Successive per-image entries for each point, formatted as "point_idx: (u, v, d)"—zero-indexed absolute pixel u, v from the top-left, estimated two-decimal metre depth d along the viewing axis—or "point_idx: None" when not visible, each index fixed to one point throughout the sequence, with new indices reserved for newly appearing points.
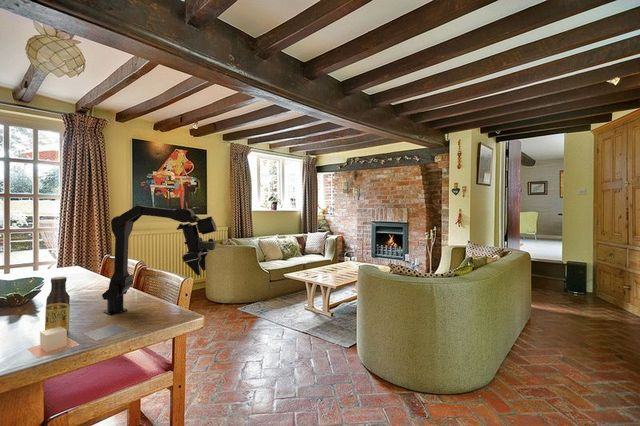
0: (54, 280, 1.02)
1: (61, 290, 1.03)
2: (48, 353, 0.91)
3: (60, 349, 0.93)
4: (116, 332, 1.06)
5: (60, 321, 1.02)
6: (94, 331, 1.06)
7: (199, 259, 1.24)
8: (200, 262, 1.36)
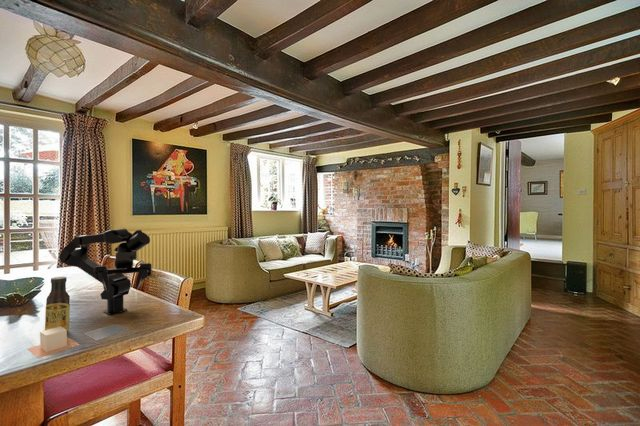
0: (54, 280, 1.02)
1: (61, 290, 1.03)
2: (48, 353, 0.91)
3: (60, 349, 0.93)
4: (116, 332, 1.06)
5: (60, 321, 1.02)
6: (94, 331, 1.06)
7: (98, 273, 1.13)
8: None
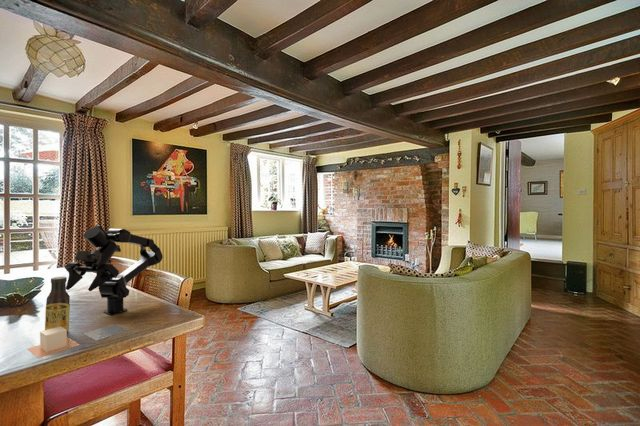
0: (54, 280, 1.02)
1: (61, 290, 1.03)
2: (48, 353, 0.91)
3: (60, 349, 0.93)
4: (116, 332, 1.06)
5: (60, 321, 1.02)
6: (94, 331, 1.06)
7: (66, 269, 1.14)
8: None
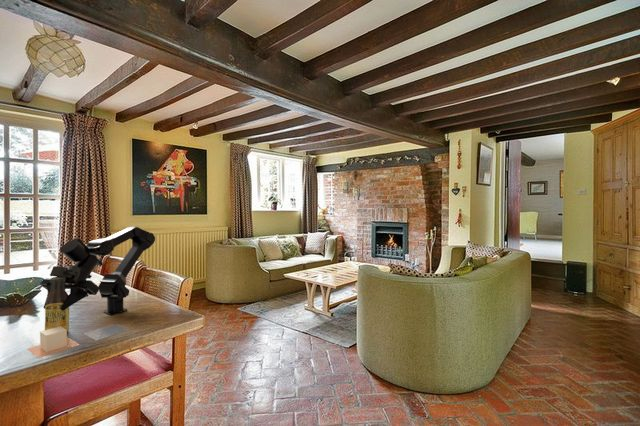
0: (53, 280, 1.02)
1: (60, 289, 1.03)
2: (48, 353, 0.91)
3: (60, 349, 0.93)
4: (116, 332, 1.06)
5: (60, 321, 1.02)
6: (94, 331, 1.06)
7: (45, 286, 1.06)
8: None
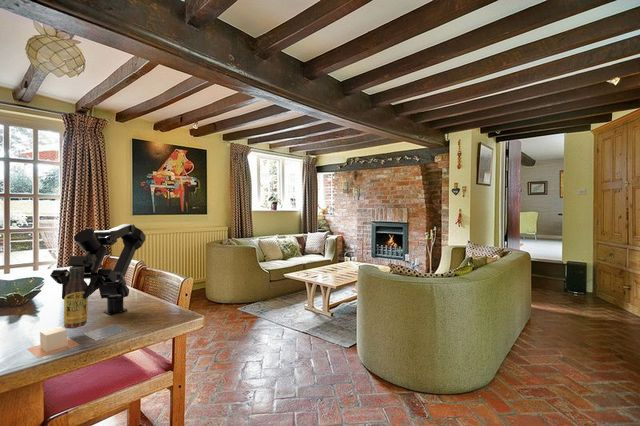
0: (75, 269, 1.02)
1: (81, 279, 1.03)
2: (48, 353, 0.91)
3: (60, 349, 0.93)
4: (116, 332, 1.06)
5: (82, 309, 1.03)
6: (94, 331, 1.06)
7: (58, 277, 1.04)
8: None
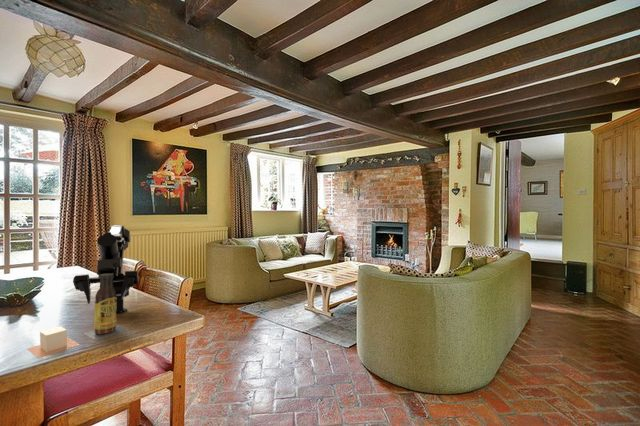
0: (107, 276, 1.05)
1: (112, 285, 1.07)
2: (48, 353, 0.91)
3: (60, 349, 0.93)
4: (116, 332, 1.06)
5: (114, 314, 1.06)
6: (94, 331, 1.06)
7: (78, 282, 1.03)
8: None
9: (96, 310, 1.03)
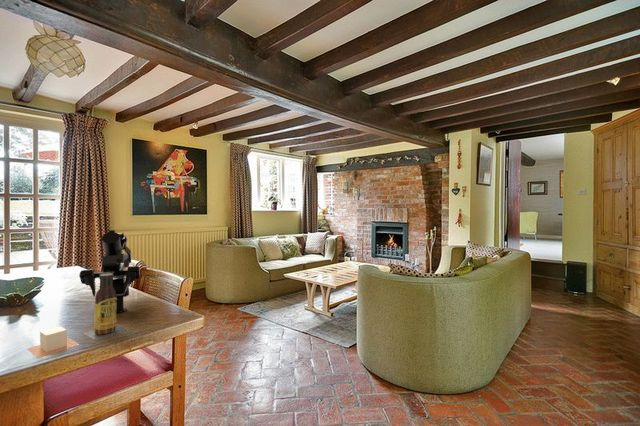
0: (107, 276, 1.05)
1: (112, 285, 1.07)
2: (48, 353, 0.91)
3: (60, 349, 0.93)
4: (116, 332, 1.06)
5: (114, 315, 1.06)
6: None
7: (84, 276, 1.11)
8: None
9: (96, 310, 1.03)
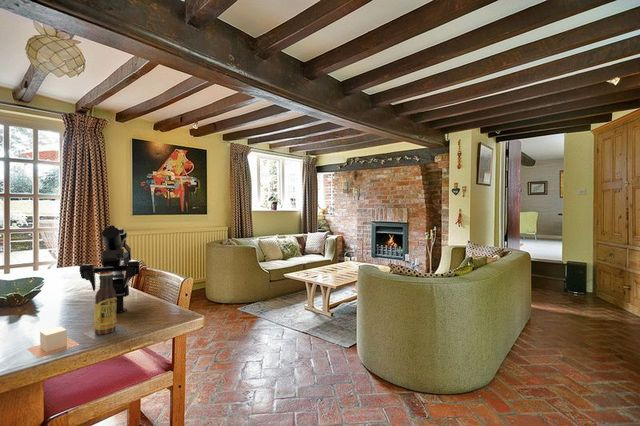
0: (107, 276, 1.05)
1: (112, 285, 1.07)
2: (48, 353, 0.91)
3: (60, 349, 0.93)
4: (116, 332, 1.06)
5: (114, 315, 1.06)
6: None
7: (84, 271, 1.11)
8: None
9: (96, 310, 1.03)
